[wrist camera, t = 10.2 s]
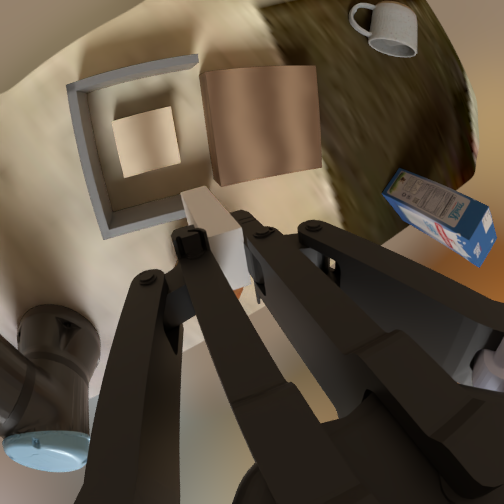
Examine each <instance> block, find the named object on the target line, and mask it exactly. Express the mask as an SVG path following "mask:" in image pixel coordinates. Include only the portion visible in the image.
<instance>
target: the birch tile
mask: <svg viewBox="0 0 504 504" xmlns="http://www.w3.org/2000/svg"><path fill="white" fill-rule="evenodd" d="M111 122H112V127H113V132H114V136H115V141H116V146H117V150H118V154H119V159H120V163H121V167H122V171H123V175H124V178H127V177H130V176H134V175H137V174H141V173H144V172H148V171H152V170H155V169H159V168H163V167H167V166H171V165H175V164H179V163H181V160H180V155H179V149H178V144H177V139H176V133H175V127H174V122H173V116H172V110H171V106H169V107H164V108H160V109H155V110H151V111H147V112H143V113H139V114H135V115H132V116H128V117H124V118H121V119H117V120H114V121H111Z"/></svg>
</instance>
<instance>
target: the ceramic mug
mask: <svg viewBox="0 0 504 504" xmlns="http://www.w3.org/2000/svg"><path fill="white" fill-rule="evenodd" d="M360 7H362V8H368V9H371V10H373V12H372V22H371V26H370V31H369V32H368V31H366V30H365V29H363V28H362V27H360V26H359V25H358V24H357V23H356V21H355V20H354V18H353V16H354V14H355V12H357V9H358V8H360ZM349 21H350V24H351V25H352V27H353V28H354V29H355V30H357V31H358V32H360V33H361V34H363V35H365V36H367V37H368V43H369V45H370V46H371V47H372V48H374V49H375V50H377V51H379V52H382V53H384V54H388V55H392V56H396V57H412V56H415V55H416V53H417V19H416V15H415V13H414V11H413V10H412V9H411V8H409V7H408V6H406V5H404V4H401V3H398V2H394V1H382V2H379V3H377V4H376V5H375V6H374V5H372V4H369V3H359V4H356V5H355V6H353V8H352V9H351V10H350V12H349Z"/></svg>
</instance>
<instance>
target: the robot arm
mask: <svg viewBox="0 0 504 504" xmlns="http://www.w3.org/2000/svg"><path fill="white" fill-rule="evenodd" d="M180 193H181V197H182V202H183V206H184V210H185V214H186V218H187V222H188V226H186V227H182V228H179V229H176V230H174V231H173V233H172V234H171V237H172V241H173V244H174V247H175V251H176V254H177V258H178V263H177V265H176V266H175V268H173V269H172V270H171V271H169V272H168V273H166V274H164V273H163V272H162V271H161V270H158V269H152V270H147V271H143V272H141V273H140V274H138V275H137V276H136V277H135V278H134V279H133V281H132V282H131V285H130V288H129V291H128V294H127V297H126V300H125V303H124V306H123V309H122V313H121V316H120V319H119V322H118V326H117V329H116V333H115V336H114V339H113V343H112V347H111V350H110V354H109V358H108V361H107V365H106V369H105V373H104V377H103V381H102V385H101V390H100V394H99V399H98V403H97V407H96V412H95V417H94V422H93V428H92V433H91V438H90V435H89V405H88V388H89V382H90V379H91V377H92V375H93V373H94V370H95V369H96V367H97V365H98V363H99V360H100V349H101V344H100V339H99V336H98V334H97V332H96V330H95V328H94V327H93V326H92V324H91V323H90V322H89V321H88V320H87V319H85V318H84V317H83V316H82V315H80V314H78V313H77V312H75V311H73V310H71V309H68V308H66V307H63V306H58V305H40V306H36V307H34V308H32V309H30V310H29V311H28V312H26V313H25V315H24V316H23V318H22V320H21V322H20V325H19V328H18V332H17V342H18V350H17V349H16V348H15V347H14V346H13V345H12V344H10V343H9V342H8V341H7V340H6V339H5V338H4V337H3V336H2V335H1V334H0V436H1V437H2V438H3V439H4V440H3V442H2V445H3V448H4V451H5V453H6V454H7V455H8V456H9V457H10V458H11V459H12V460H14V461H15V462H17V463H19V464H21V465H24V466H27V467H30V468H33V469H37V470H42V471H49V472H68V471H73V470H77V469H80V468H82V467H83V466H84V465H85V464H86V470H85V477H84V484H83V486H82V488H81V490H80V492H79V494H78V496H77V498H76V500H75V502H74V504H180V468H179V431H180V430H179V429H180V389H181V364H182V347H183V331H184V328H183V324H182V323H183V322H185V321H187V320H188V319H190V318H192V317H193V316H195V315H196V316H197V319H198V322H199V325H200V328H201V331H202V333H203V336H204V339H205V342H206V344H207V347H208V350H209V353H210V355H211V358H212V360H213V363H214V366H215V368H216V371H217V373H218V376H219V378H220V381H221V384H222V386H223V389H224V391H225V393H226V396H227V399H228V401H229V403H230V406H231V408H232V411H233V413H234V415H235V417H236V420H237V422H238V425H239V427H240V429H241V431H242V434H243V436H244V438H245V440H246V443H247V445H248V447H249V450H250V452H251V454H252V456H253V458H254V461H255V463H254V465H253V466H252V467H251V468H250V469H249V470H248V471H247V473H246V474H245V476H244V477H243V479H242V480H241V482H240V484H239V486H238V489H237V491H236V494H235V497H234V500H233V502H232V504H504V303H501V302H497V301H494V300H491V299H489V298H487V297H485V296H483V295H481V294H479V293H478V292H476V291H474V290H472V289H470V288H468V287H466V286H464V285H462V284H460V283H458V282H456V281H454V280H452V279H450V278H448V277H446V276H444V275H442V274H440V273H438V272H436V271H434V270H431V269H429V268H427V267H425V266H423V265H421V264H419V263H417V262H415V261H412V260H410V259H408V258H406V257H404V256H402V255H400V254H397V253H395V252H393V251H391V250H389V249H386V248H384V247H382V246H380V245H377V244H375V243H373V242H371V241H368V240H366V239H364V238H361V237H359V236H357V235H355V234H352V233H350V232H347V231H345V230H343V229H340V228H338V227H336V226H333V225H331V224H328V223H326V222H323V221H319V220H308V221H306V222H303V223H301V224H300V225H299V226H298V233H297V234H289V235H283V234H282V233H281V232H280V231H278V230H277V229H276V228H274V227H269V226H263V225H262V224H261V223H260V222H259V221H258V220H256V218H254V217H253V216H252V215H251V214H250V213H249V212H247V211H244V210H239V211H235V212H232V213H229V212H228V211H227V210H226V209H225V208H224V206H223V205H222V204H221V203H220V202H219V201H218V200H217V198H216V197H215V196H214V195H213V194H212V193H211V191H210V190H209V189H208V188H207V187H206V186H202V187H198V188H194V189H190V190H187V191H183V192H180ZM330 258H331V259H333V260H335V269H333V268H331V267H330ZM250 275H251V276H252V278H253V279H254V285H255V291H256V297H257V302H258V304H260V298H261V299H262V300H263V302H264V303H265V305H266V306H267V308H268V309H269V311H270V312H271V314H272V315H273V317H274V318H275V320H276V321H277V323H278V324H279V326H280V327H281V329H282V330H283V332H284V333H285V334H286V336H287V338H288V339H289V341H290V342H291V344H292V345H293V347H294V348H295V349H296V351H297V353H298V354H299V355H300V357H301V358H302V360H303V361H304V363H305V364H306V366H307V367H308V369H309V370H310V372H311V373H312V374H313V376H314V377H315V379H316V380H317V382H318V383H319V385H320V386H321V387H322V389H323V391H324V392H325V393H326V395H327V396H328V398H329V399H330V401H331V402H332V403H333V405H334V407H335V408H336V411H337V413H338V417H339V419H337V420H333V421H329V422H325V423H320V422H319V421H318V419H317V418H316V416H315V415H314V413H313V411H312V410H311V408H310V407H309V405H308V404H307V402H306V400H305V399H304V397H303V396H302V394H301V393H300V391H299V390H298V388H297V387H296V385H295V384H293V383H292V382H289V383H288V382H287V381H286V380H285V379H284V377H283V376H282V374H281V372H280V371H279V369H278V367H277V366H276V364H275V362H274V360H273V359H272V357H271V356H270V354H269V352H268V350H267V349H266V347H265V345H264V343H263V342H262V340H261V338H260V337H259V335H258V333H257V332H256V330H255V328H254V326H253V325H252V323H251V321H250V319H249V318H248V316H247V314H246V312H245V311H244V309H243V307H242V305H241V304H240V302H239V300H238V298H237V297H236V295H235V293H234V291H233V290H236V289H239V288H242V287H245V286H248V285H251V279H250ZM457 382H458V383H460V384H458V383H457ZM89 442H90V444H89Z"/></svg>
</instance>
